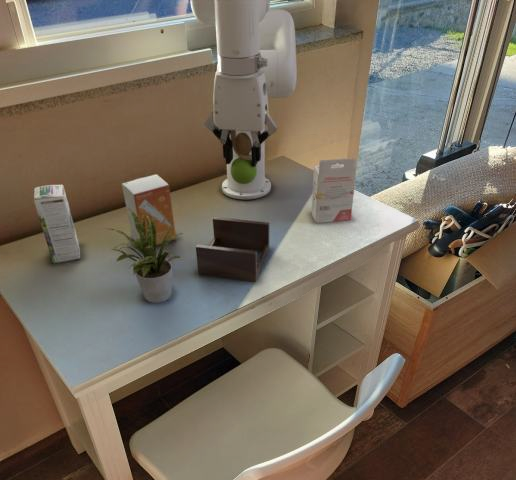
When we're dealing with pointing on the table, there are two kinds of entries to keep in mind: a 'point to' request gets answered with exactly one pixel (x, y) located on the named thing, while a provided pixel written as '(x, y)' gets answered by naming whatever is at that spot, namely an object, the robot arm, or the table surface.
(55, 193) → the syrup box
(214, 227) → the frame
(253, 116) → the robot arm
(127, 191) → the small box
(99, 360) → the table surface
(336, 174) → the ink cartridge box
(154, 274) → the house plant
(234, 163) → the snail figurine
